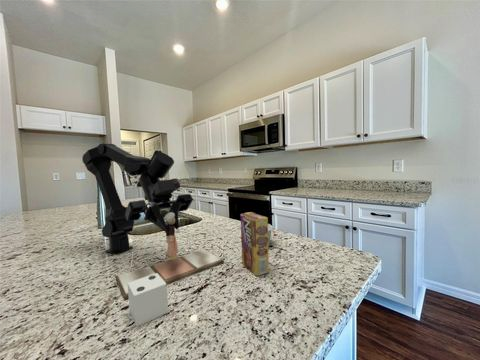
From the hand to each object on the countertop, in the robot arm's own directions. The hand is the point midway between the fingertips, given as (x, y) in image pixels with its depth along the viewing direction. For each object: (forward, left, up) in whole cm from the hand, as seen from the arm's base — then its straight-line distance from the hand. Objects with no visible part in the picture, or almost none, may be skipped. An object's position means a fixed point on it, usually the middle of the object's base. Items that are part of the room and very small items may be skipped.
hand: (172, 229), depth 60 cm
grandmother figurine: (-1, +1, -8) cm, 8 cm away
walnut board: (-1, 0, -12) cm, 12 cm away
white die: (+6, -15, -12) cm, 20 cm away
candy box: (+20, +10, -12) cm, 26 cm away
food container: (+14, +28, -12) cm, 34 cm away
